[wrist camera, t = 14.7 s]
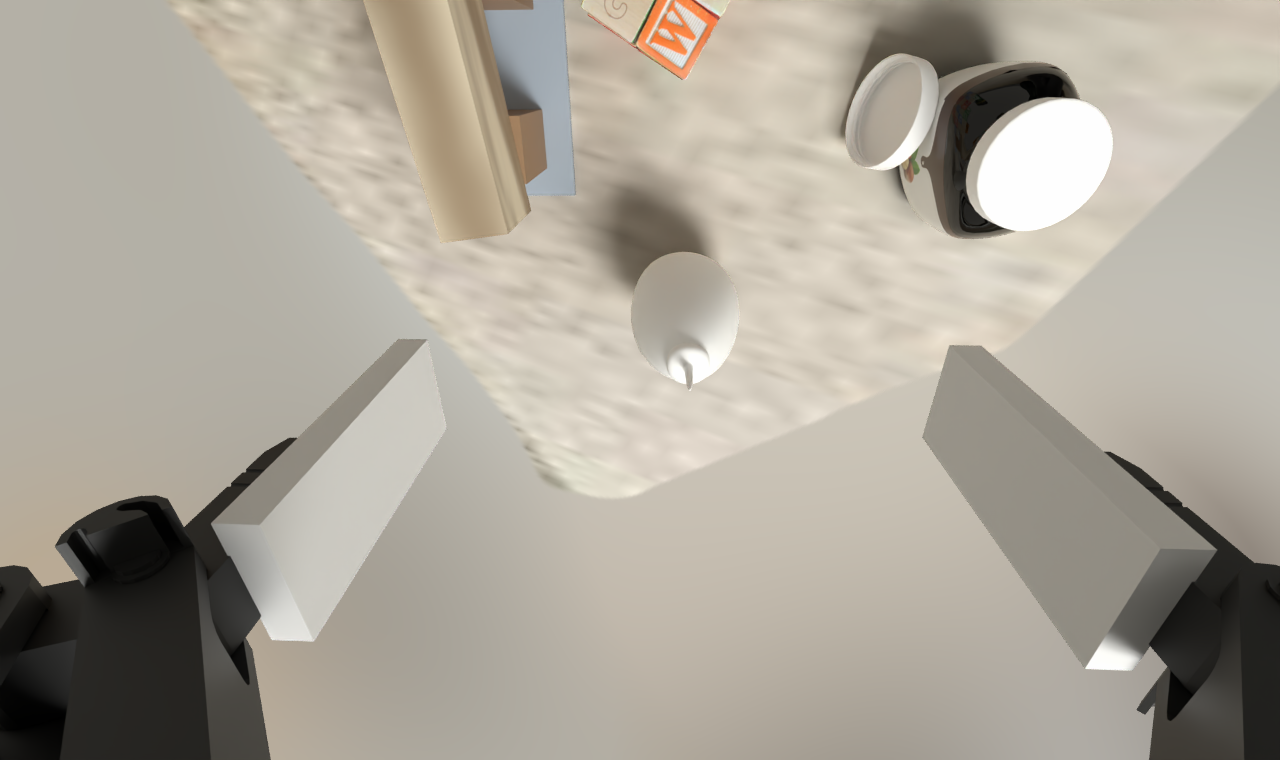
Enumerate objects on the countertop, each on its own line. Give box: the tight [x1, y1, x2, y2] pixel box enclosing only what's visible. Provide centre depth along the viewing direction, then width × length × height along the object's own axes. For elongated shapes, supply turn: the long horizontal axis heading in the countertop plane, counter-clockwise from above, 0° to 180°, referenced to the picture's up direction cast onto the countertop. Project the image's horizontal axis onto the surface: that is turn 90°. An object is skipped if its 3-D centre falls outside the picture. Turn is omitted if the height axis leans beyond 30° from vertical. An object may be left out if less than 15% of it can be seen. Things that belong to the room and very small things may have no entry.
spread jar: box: [845, 53, 1113, 239], centre depth 35 cm, size 12×11×12 cm
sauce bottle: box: [631, 252, 739, 390], centre depth 38 cm, size 8×8×18 cm
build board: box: [482, 0, 576, 195], centre depth 35 cm, size 10×18×7 cm, turn 1°
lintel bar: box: [363, 0, 531, 243], centre depth 30 cm, size 4×18×6 cm, turn 8°
